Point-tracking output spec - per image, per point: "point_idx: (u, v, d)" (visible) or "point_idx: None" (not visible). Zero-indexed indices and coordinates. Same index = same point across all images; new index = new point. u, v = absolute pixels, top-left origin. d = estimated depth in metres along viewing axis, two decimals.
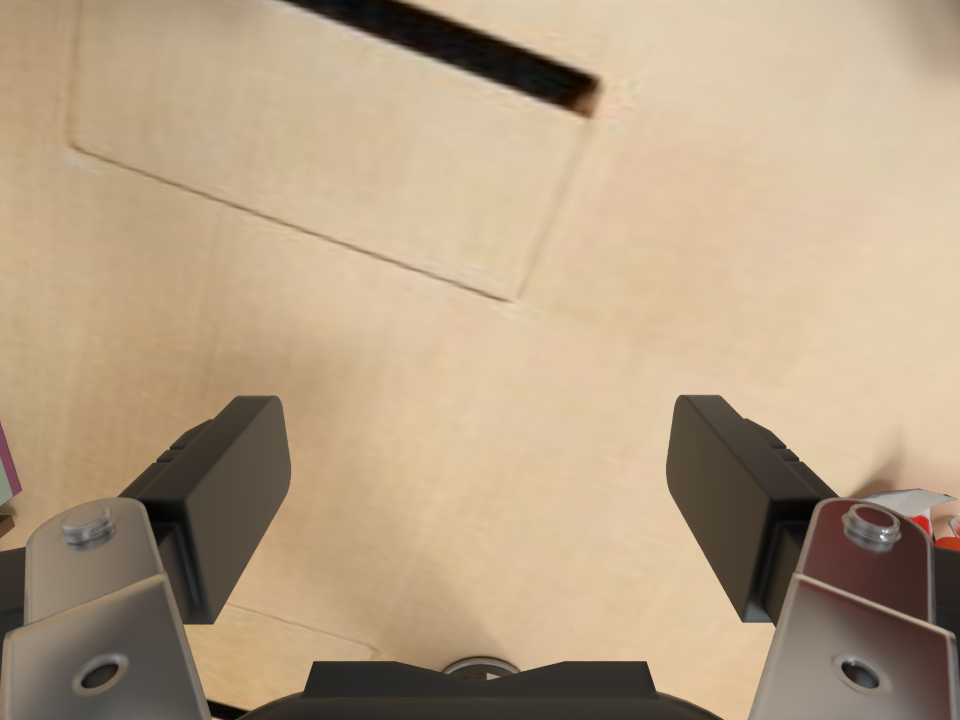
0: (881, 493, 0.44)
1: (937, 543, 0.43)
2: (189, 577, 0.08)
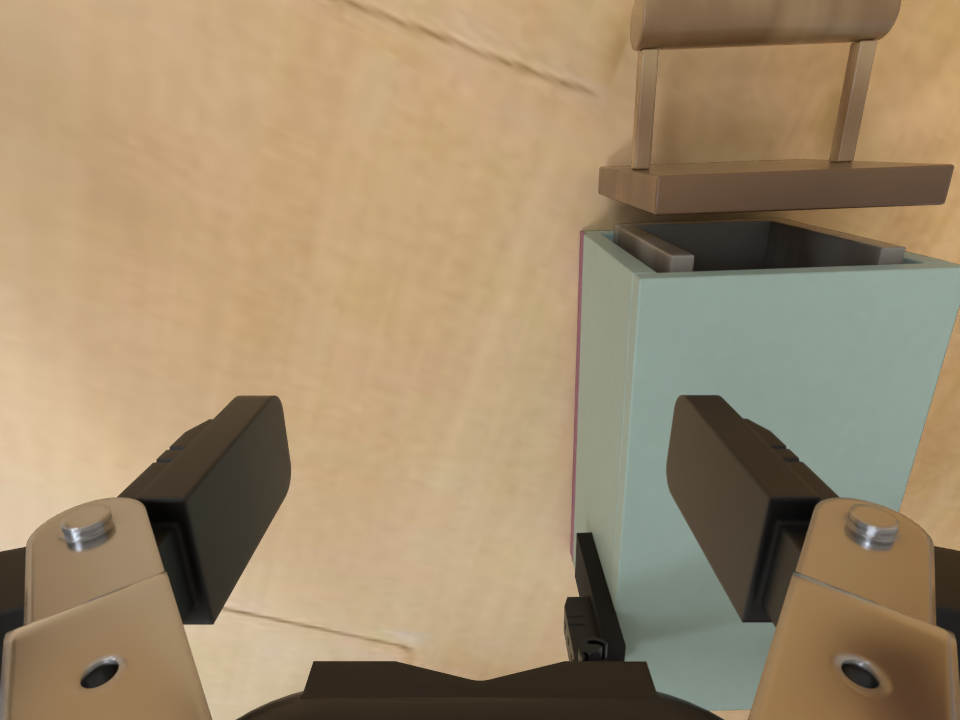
0: None
1: None
2: (189, 578, 0.08)
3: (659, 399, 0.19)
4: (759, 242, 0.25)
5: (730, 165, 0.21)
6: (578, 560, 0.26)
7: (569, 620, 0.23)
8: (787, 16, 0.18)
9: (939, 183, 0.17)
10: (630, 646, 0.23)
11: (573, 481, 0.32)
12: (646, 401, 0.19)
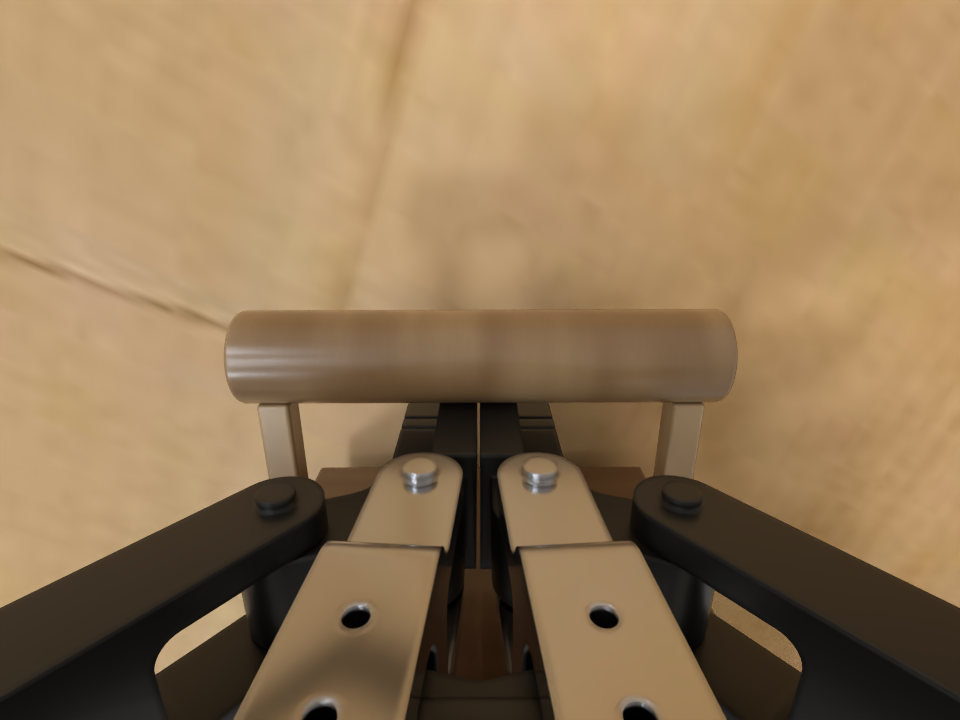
0: None
1: None
2: (464, 526, 0.09)
3: None
4: None
5: None
6: None
7: None
8: (513, 380, 0.09)
9: None
10: None
11: None
12: None
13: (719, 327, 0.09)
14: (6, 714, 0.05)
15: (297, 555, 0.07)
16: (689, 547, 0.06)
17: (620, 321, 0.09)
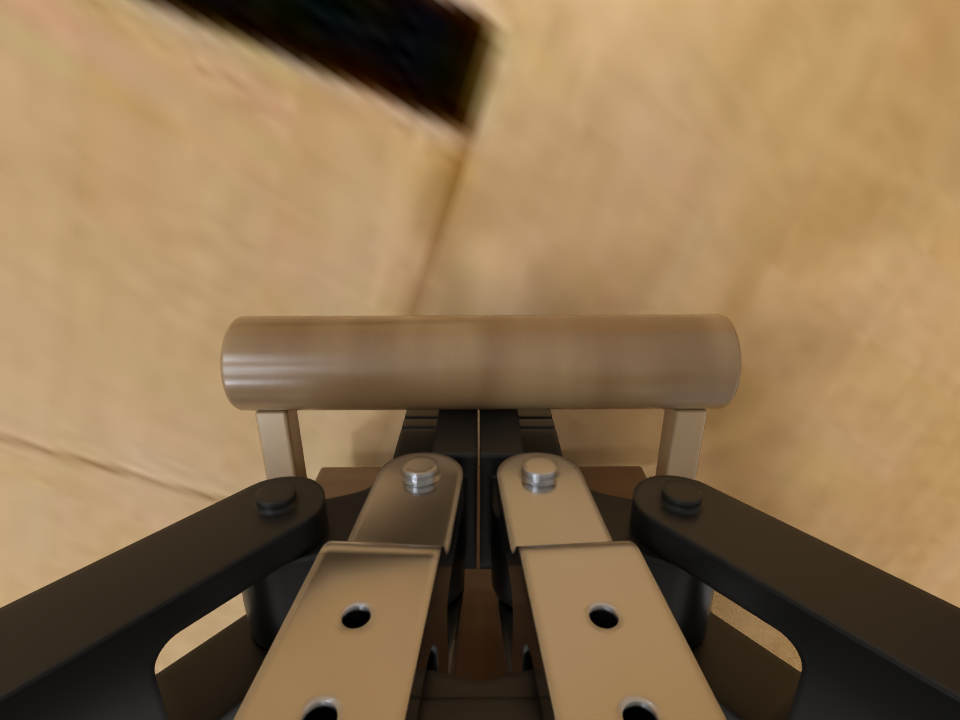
0: None
1: None
2: (465, 526, 0.09)
3: None
4: None
5: None
6: None
7: None
8: (513, 388, 0.09)
9: None
10: None
11: None
12: None
13: (723, 334, 0.09)
14: (6, 714, 0.05)
15: (297, 555, 0.07)
16: (689, 547, 0.06)
17: (621, 327, 0.09)
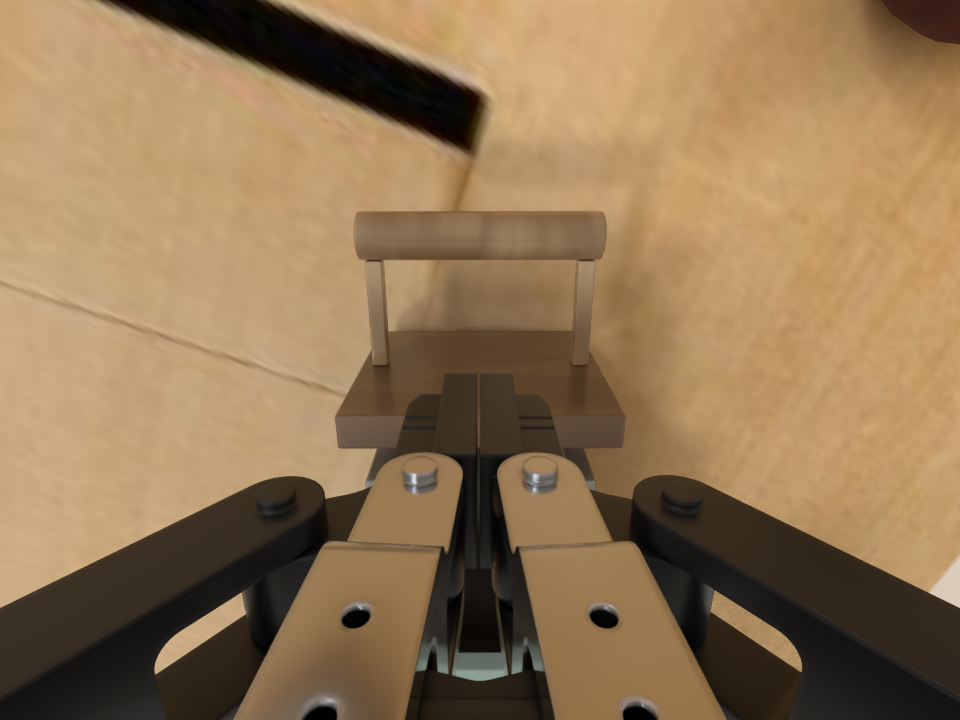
0: None
1: None
2: (464, 526, 0.09)
3: None
4: None
5: (475, 358, 0.22)
6: None
7: None
8: (496, 243, 0.19)
9: (613, 430, 0.17)
10: None
11: None
12: None
13: (598, 217, 0.19)
14: (6, 714, 0.05)
15: (297, 555, 0.07)
16: (689, 547, 0.06)
17: (549, 214, 0.19)
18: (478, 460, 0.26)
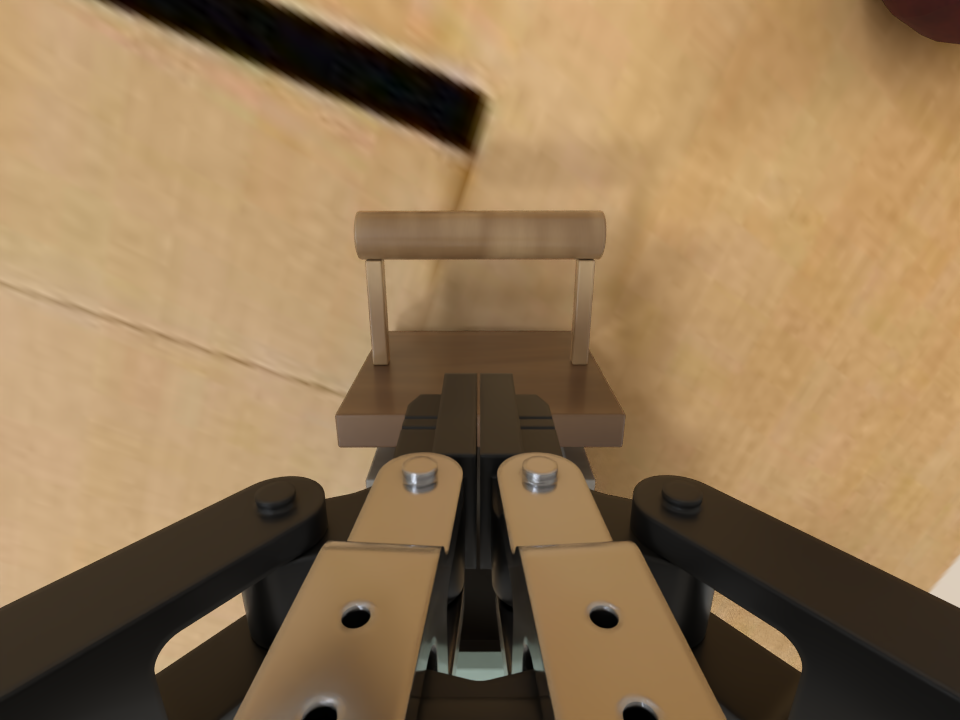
0: None
1: None
2: (464, 526, 0.09)
3: None
4: None
5: (475, 358, 0.22)
6: None
7: None
8: (496, 242, 0.19)
9: (613, 429, 0.17)
10: None
11: None
12: None
13: (598, 216, 0.19)
14: (6, 714, 0.05)
15: (297, 555, 0.07)
16: (689, 547, 0.06)
17: (549, 214, 0.19)
18: (478, 460, 0.26)
